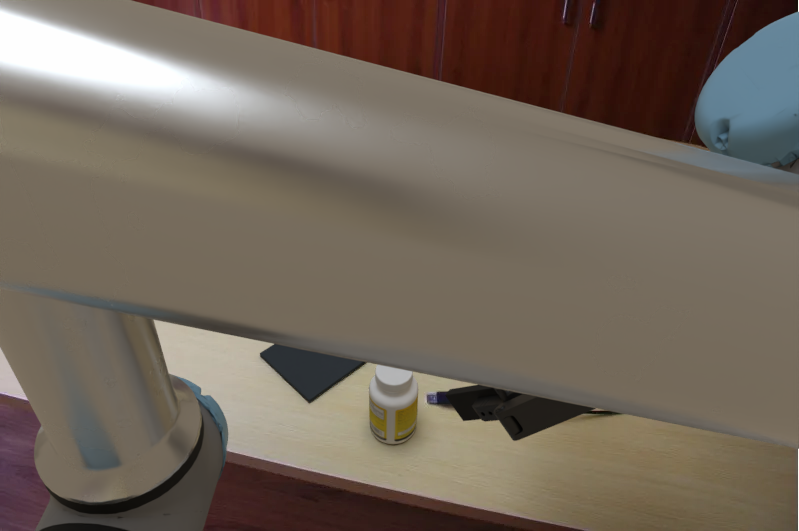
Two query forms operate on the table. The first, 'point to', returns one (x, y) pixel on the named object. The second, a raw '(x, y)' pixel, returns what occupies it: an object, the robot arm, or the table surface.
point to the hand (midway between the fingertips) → (496, 354)
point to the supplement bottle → (393, 404)
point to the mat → (309, 369)
